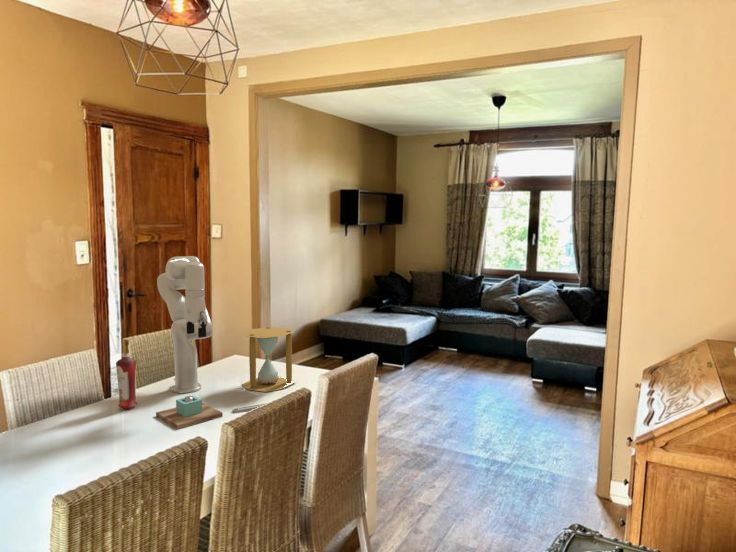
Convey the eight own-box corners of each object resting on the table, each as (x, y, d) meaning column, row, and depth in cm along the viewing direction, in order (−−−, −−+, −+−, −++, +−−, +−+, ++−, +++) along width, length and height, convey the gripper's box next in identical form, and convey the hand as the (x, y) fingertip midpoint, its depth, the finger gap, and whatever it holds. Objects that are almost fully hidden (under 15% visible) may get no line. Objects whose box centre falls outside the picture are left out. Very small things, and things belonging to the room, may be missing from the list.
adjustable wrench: (232, 414, 207) (232, 410, 206) (230, 409, 213) (230, 405, 212) (295, 406, 216) (295, 402, 216) (291, 401, 222) (291, 397, 222)
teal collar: (176, 412, 203) (176, 399, 202) (193, 407, 208) (193, 395, 207) (184, 417, 198) (184, 404, 198) (202, 412, 203) (201, 399, 203)
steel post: (183, 412, 203) (183, 397, 202) (191, 410, 205) (190, 395, 204) (187, 414, 201) (187, 399, 200) (194, 412, 203) (194, 397, 202)
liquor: (113, 409, 210) (110, 340, 208) (129, 403, 217) (126, 336, 214) (126, 412, 207) (123, 342, 204) (141, 406, 213) (139, 338, 211)
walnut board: (156, 416, 203) (156, 412, 203) (199, 404, 216) (199, 401, 216) (177, 429, 190) (177, 425, 190) (222, 416, 203) (222, 412, 203)
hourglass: (272, 374, 260) (271, 324, 257) (304, 383, 245) (303, 330, 243) (232, 385, 241) (231, 331, 239) (264, 395, 227) (263, 338, 225)
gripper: (176, 292, 217) (177, 333, 219) (197, 296, 205) (198, 340, 207) (193, 290, 223) (194, 330, 224) (214, 295, 211) (215, 337, 212)
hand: (196, 335), depth 216 cm, fingers open, 9 cm apart
